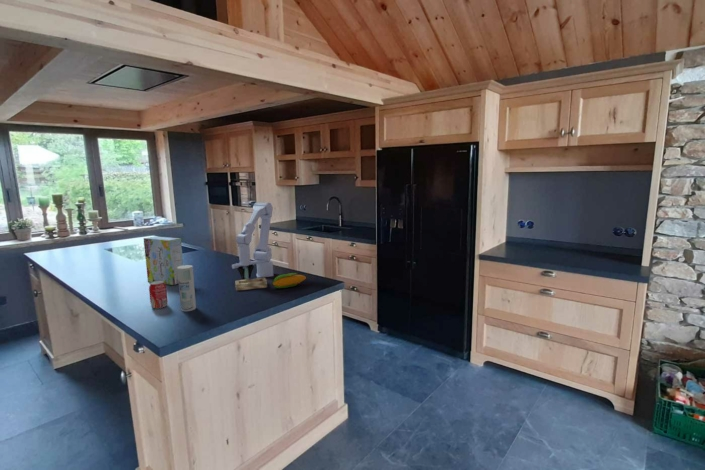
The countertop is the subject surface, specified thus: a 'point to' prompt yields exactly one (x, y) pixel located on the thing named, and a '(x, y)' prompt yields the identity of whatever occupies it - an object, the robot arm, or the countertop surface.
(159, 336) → the countertop surface
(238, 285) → the hole block
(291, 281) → the corn
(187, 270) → the spray can
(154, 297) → the soda can
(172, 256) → the snack box
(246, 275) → the peg
